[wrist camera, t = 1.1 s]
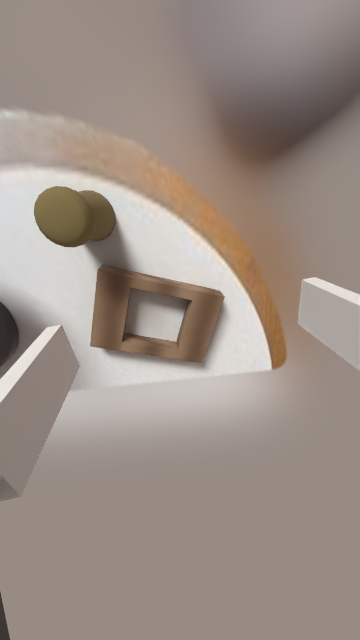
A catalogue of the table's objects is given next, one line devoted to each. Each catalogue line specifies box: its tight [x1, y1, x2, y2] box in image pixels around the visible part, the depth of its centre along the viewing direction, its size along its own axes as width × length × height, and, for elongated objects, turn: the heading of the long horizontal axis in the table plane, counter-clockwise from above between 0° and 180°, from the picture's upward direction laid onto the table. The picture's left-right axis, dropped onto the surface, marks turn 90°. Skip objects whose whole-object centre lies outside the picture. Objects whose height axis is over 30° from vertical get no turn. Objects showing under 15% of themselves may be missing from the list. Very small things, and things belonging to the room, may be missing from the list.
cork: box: [34, 186, 115, 247], centre depth 25 cm, size 6×6×11 cm
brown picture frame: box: [90, 265, 224, 363], centre depth 35 cm, size 18×12×3 cm, turn 77°
